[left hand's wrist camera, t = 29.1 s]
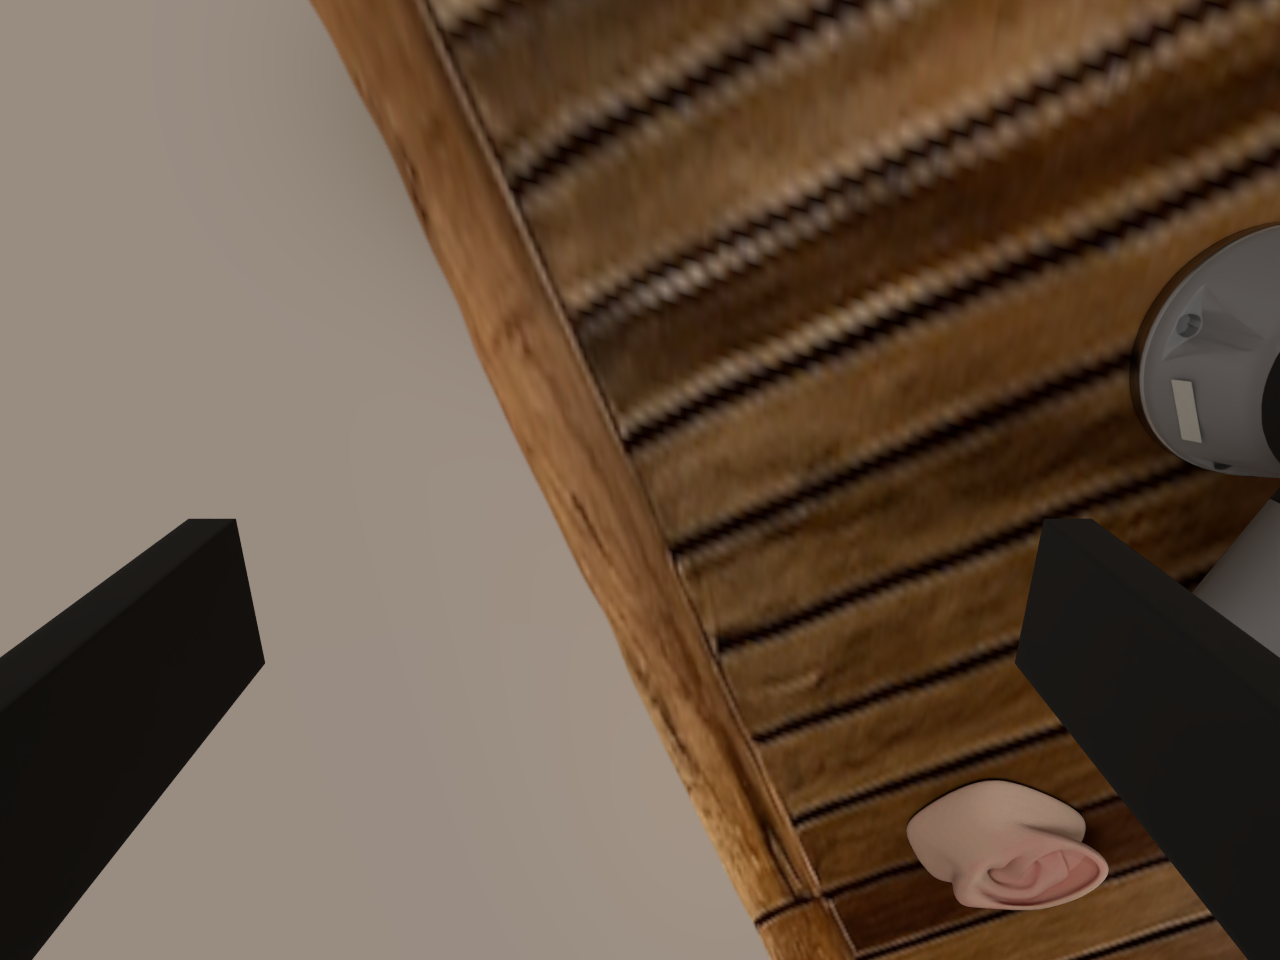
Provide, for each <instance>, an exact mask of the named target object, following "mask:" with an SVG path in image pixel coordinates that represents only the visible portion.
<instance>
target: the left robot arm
mask: <svg viewBox="0 0 1280 960" xmlns="http://www.w3.org/2000/svg"><path fill="white" fill-rule="evenodd" d="M1130 388H1131V396H1132V400H1133V404H1134V407H1135V410H1136V413H1137V415H1138V417H1139V419H1140V421H1141V423H1142V425H1143V426H1144V428H1145V429H1146V431H1147V432H1148V434H1149V435H1150V436H1151V437H1152V438H1153V439H1154V440H1155V441H1156V442H1157V443H1158V444H1159V445H1160V446H1162V447H1163V448H1164V449H1166V450H1167V451H1169V452H1170V453H1172V454H1174V455H1176V456H1178V457H1180V458H1182V459H1184V460H1186V461H1188V462H1190V463H1192V464H1194V465H1196V466H1199V467H1202V468H1205V469H1209V470H1212V471H1216V472H1220V473H1224V474H1231V475H1241V476H1257V477H1270V478H1280V222H1274V223H1267V224H1263V225H1259V226H1255V227H1252V228H1249V229H1246V230H1243V231H1240V232H1238V233H1235V234H1233V235H1231V236H1229V237H1227V238H1225V239H1223V240H1221V241H1219V242H1217V243H1215V244H1214V245H1212V246H1211V247H1209V248H1208V249H1206V250H1204V251H1203V252H1202V253H1200V254H1199V255H1198V256H1196V257H1195V258H1194V259H1192V260H1191V261H1190V262H1189V263H1188V264H1187V265H1185V266H1184V267H1183V268H1182V269H1181V270H1180V271H1179V272H1178V273H1177V274H1176V275H1175V276H1174V277H1173V278H1172V279H1171V280H1170V282H1169V283H1168V284H1167V285H1166V286H1165V288H1164V289H1163V290H1162V291H1161V293H1160V294H1159V295H1158V297H1157V298H1156V300H1155V301H1154V303H1153V304H1152V306H1151V308H1150V309H1149V311H1148V313H1147V315H1146V317H1145V319H1144V321H1143V323H1142V325H1141V327H1140V330H1139V333H1138V335H1137V338H1136V341H1135V345H1134V348H1133V353H1132V358H1131V366H1130ZM264 664H265V660H264V655H263V650H262V645H261V641H260V635H259V631H258V626H257V621H256V616H255V611H254V606H253V601H252V596H251V591H250V586H249V581H248V576H247V571H246V567H245V562H244V557H243V552H242V547H241V542H240V537H239V532H238V527H237V522H236V519H188V520H186V521H185V522H184V523H182V524H181V525H180V526H178V527H177V528H176V529H174V530H173V531H171V532H170V533H169V534H167V535H166V536H165V537H163V538H162V539H161V540H159V541H158V542H156V543H155V544H154V545H152V546H151V547H150V548H148V549H147V550H146V551H144V552H143V553H142V554H140V555H139V556H137V557H136V558H135V559H133V560H132V561H131V562H129V563H128V564H127V565H125V566H124V567H123V568H121V569H120V570H119V571H117V572H116V573H114V574H113V575H112V576H110V577H109V578H108V579H106V580H105V581H104V582H102V583H101V584H100V585H98V586H97V587H95V588H94V589H93V590H91V591H90V592H89V593H87V594H86V595H85V596H83V597H82V598H80V599H79V600H78V601H76V602H75V603H74V604H72V605H71V606H70V607H68V608H67V609H66V610H64V611H63V612H61V613H60V614H59V615H57V616H56V617H55V618H53V619H52V620H51V621H49V622H48V623H47V624H45V625H44V626H42V627H41V628H40V629H38V630H37V631H36V632H34V633H33V634H32V635H30V636H29V637H28V638H26V639H25V640H23V641H22V642H21V643H19V644H18V645H17V646H15V647H14V648H13V649H11V650H10V651H8V652H7V653H6V654H4V655H3V656H2V657H0V960H32V959H33V958H34V957H35V955H36V954H37V953H38V951H39V950H40V949H41V948H42V946H43V945H44V944H45V943H46V941H47V940H48V939H49V937H50V936H51V935H52V934H53V932H54V931H55V930H56V929H57V927H58V926H59V925H60V923H61V922H62V921H63V920H64V918H65V917H66V916H67V915H68V913H69V912H70V911H71V910H72V908H73V907H74V906H75V904H76V903H77V902H78V901H79V899H80V898H81V897H82V895H83V894H84V893H85V892H86V890H87V889H88V888H89V887H90V885H91V884H92V883H93V882H94V880H95V879H96V878H97V876H98V875H99V874H100V873H101V871H102V870H103V869H104V868H105V866H106V865H107V864H108V862H109V861H110V860H111V859H112V857H113V856H114V855H115V854H116V852H117V851H118V850H119V848H120V847H121V846H122V845H123V843H124V842H125V841H126V839H127V838H128V837H129V836H130V834H131V833H132V832H133V831H134V829H135V828H136V827H137V826H138V824H139V823H140V822H141V820H142V819H143V818H144V817H145V815H146V814H147V813H148V812H149V810H150V809H151V808H152V806H153V805H154V804H155V803H156V801H157V800H158V799H159V798H160V796H161V795H162V794H163V792H164V791H165V790H166V789H167V787H168V786H169V785H170V784H171V782H172V781H173V780H174V778H175V777H176V776H177V775H178V773H179V772H180V771H181V770H182V768H183V767H184V766H185V764H186V763H187V762H188V761H189V759H190V758H191V757H192V756H193V754H194V753H195V752H196V751H197V749H198V748H199V747H200V745H201V744H202V743H203V742H204V740H205V739H206V738H207V736H208V735H209V734H210V733H211V731H212V730H213V729H214V728H215V726H216V725H217V724H218V722H219V721H220V720H221V719H222V717H223V716H224V715H225V714H226V712H227V711H228V710H229V708H230V707H231V706H232V705H233V703H234V702H235V701H236V700H237V698H238V697H239V696H240V695H241V693H242V692H243V691H244V689H245V688H246V687H247V686H248V684H249V683H250V682H251V681H252V679H253V678H254V677H255V675H256V674H257V673H258V672H259V670H260V669H261V668H262V667H263V665H264ZM1015 664H1016V665H1017V667H1018V668H1019V669H1020V670H1021V672H1022V673H1023V674H1024V675H1025V677H1026V678H1027V679H1028V681H1029V682H1030V683H1031V684H1032V686H1033V687H1034V688H1035V689H1036V691H1037V692H1038V693H1039V695H1040V696H1041V697H1042V698H1043V700H1044V701H1045V702H1046V703H1047V705H1048V706H1049V707H1050V709H1051V710H1052V711H1053V712H1054V714H1055V715H1056V716H1057V717H1058V719H1059V720H1060V721H1061V723H1062V724H1063V725H1064V726H1065V728H1066V729H1067V730H1068V731H1069V733H1070V734H1071V735H1072V737H1073V738H1074V739H1075V740H1076V742H1077V743H1078V744H1079V745H1080V747H1081V748H1082V749H1083V751H1084V752H1085V753H1086V754H1087V756H1088V757H1089V758H1090V759H1091V761H1092V762H1093V763H1094V765H1095V766H1096V767H1097V768H1098V770H1099V771H1100V772H1101V773H1102V775H1103V776H1104V777H1105V778H1106V780H1107V781H1108V782H1109V784H1110V785H1111V786H1112V787H1113V789H1114V790H1115V791H1116V792H1117V794H1118V795H1119V796H1120V798H1121V799H1122V800H1123V801H1124V803H1125V804H1126V805H1127V806H1128V808H1129V809H1130V810H1131V812H1132V813H1133V814H1134V815H1135V817H1136V818H1137V819H1138V820H1139V822H1140V823H1141V824H1142V826H1143V827H1144V828H1145V829H1146V831H1147V832H1148V833H1149V834H1150V836H1151V837H1152V838H1153V840H1154V841H1155V842H1156V843H1157V845H1158V846H1159V847H1160V848H1161V850H1162V851H1163V852H1164V854H1165V855H1166V856H1167V857H1168V859H1169V860H1170V861H1171V862H1172V864H1173V865H1174V866H1175V868H1176V869H1177V870H1178V871H1179V873H1180V874H1181V875H1182V876H1183V878H1184V879H1185V880H1186V882H1187V883H1188V884H1189V885H1190V887H1191V888H1192V889H1193V890H1194V892H1195V893H1196V894H1197V896H1198V897H1199V898H1200V899H1201V901H1202V902H1203V903H1204V904H1205V906H1206V907H1207V908H1208V910H1209V911H1210V912H1211V913H1212V915H1213V916H1214V917H1215V918H1216V920H1217V921H1218V922H1219V923H1220V925H1221V926H1222V927H1223V929H1224V930H1225V931H1226V932H1227V934H1228V935H1229V936H1230V937H1231V939H1232V940H1233V941H1234V943H1235V944H1236V945H1237V946H1238V948H1239V949H1240V950H1241V951H1242V953H1243V954H1244V955H1245V957H1246V958H1247V959H1248V960H1280V488H1279V489H1278V490H1277V491H1276V493H1275V494H1274V495H1273V496H1272V497H1271V498H1270V499H1269V500H1268V501H1267V502H1266V504H1265V505H1264V506H1263V507H1262V508H1261V510H1260V511H1259V512H1258V513H1257V514H1256V516H1255V517H1254V518H1253V519H1252V521H1251V522H1250V523H1249V524H1248V525H1247V527H1246V528H1245V529H1244V530H1243V531H1242V533H1241V534H1240V535H1239V536H1238V538H1237V539H1236V540H1235V541H1234V542H1233V544H1232V545H1231V546H1230V547H1229V548H1228V550H1227V551H1226V552H1225V553H1224V554H1223V556H1222V557H1221V558H1220V559H1219V561H1218V562H1217V563H1216V564H1215V565H1214V567H1213V568H1212V569H1211V570H1210V571H1209V573H1208V574H1207V575H1206V576H1205V577H1204V579H1203V580H1202V581H1201V582H1200V584H1199V585H1198V586H1197V587H1196V588H1195V590H1194V591H1193V592H1192V593H1191V592H1190V591H1189V590H1187V589H1186V588H1185V587H1183V586H1182V585H1181V584H1179V583H1178V582H1176V581H1175V580H1174V579H1172V578H1171V577H1170V576H1168V575H1167V574H1166V573H1164V572H1163V571H1162V570H1160V569H1159V568H1157V567H1156V566H1155V565H1153V564H1152V563H1151V562H1149V561H1148V560H1147V559H1145V558H1144V557H1143V556H1141V555H1140V554H1138V553H1137V552H1136V551H1134V550H1133V549H1132V548H1130V547H1129V546H1128V545H1126V544H1125V543H1124V542H1122V541H1121V540H1119V539H1118V538H1117V537H1115V536H1114V535H1113V534H1111V533H1110V532H1109V531H1107V530H1106V529H1104V528H1103V527H1102V526H1100V525H1099V524H1098V523H1096V522H1095V521H1094V520H1092V519H1044V522H1043V527H1042V532H1041V537H1040V542H1039V547H1038V552H1037V557H1036V562H1035V567H1034V571H1033V576H1032V581H1031V586H1030V591H1029V596H1028V601H1027V606H1026V611H1025V616H1024V621H1023V626H1022V631H1021V635H1020V640H1019V645H1018V650H1017V655H1016V660H1015Z"/></svg>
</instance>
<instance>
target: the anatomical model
mask: <svg viewBox="0 0 1280 960" xmlns="http://www.w3.org/2000/svg"><path fill="white" fill-rule="evenodd" d="M1085 830H1086V825H1085V821H1084V819H1083V817H1082V816H1081V815H1080V814H1079V813H1078V812H1077V811H1075V810H1074V809H1072V808H1071V807H1069V806H1068V805H1066V804H1064V803H1063V802H1061V801H1059V800H1057V799H1055V798H1053V797H1050V796H1048V795H1046V794H1043V793H1041V792H1039V791H1036V790H1034V789H1031V788H1028V787H1025V786H1022V785H1019V784H1015V783H1011V782H1006V781H998V780H991V781H982V782H977V783H974V784H970V785H967V786H965V787H962V788H959V789H957V790H955V791H953V792H951V793H949V794H947V795H945V796H943V797H941V798H940V799H938V800H936V801H935V802H933V803H931V804H930V805H928V806H927V807H925V808H924V809H923V810H921V811H920V812H919V813H917V814H916V815H915V816H914V817H913V818H912V819H911V820H910V822H909V824H908V826H907V836H908V839H909V842H910V844H911V846H912V848H913V850H914V852H915V853H916V855H917V857H918V859H919V860H920V862H921V863H922V864H923V866H924V867H925V868H926V869H927V870H928V871H929V872H930V873H931V874H932V875H933V876H934V877H936V878H938V879H940V880H943V881H947V882H952V884H953V890H954V894H955V897H956V898H957V900H958V901H959V902H960V903H961V904H963V905H965V906H969V907H978V908H994V909H1010V910H1034V909H1043V908H1049V907H1052V906H1056V905H1060V904H1063V903H1066V902H1069V901H1072V900H1075V899H1077V898H1079V897H1081V896H1083V895H1085V894H1087V893H1089V892H1090V891H1092V890H1093V889H1095V888H1096V887H1097V886H1098V885H1100V884H1101V883H1102V882H1103V881H1104V879H1105V878H1106V876H1107V874H1108V865H1107V863H1106V861H1105V859H1104V858H1103V857H1102V856H1101V855H1100V854H1099V853H1098V852H1097V851H1095V850H1094V849H1092V848H1091V847H1089V846H1087V845H1086V844H1084V843H1082V839H1083V837H1084V834H1085Z"/></svg>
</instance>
